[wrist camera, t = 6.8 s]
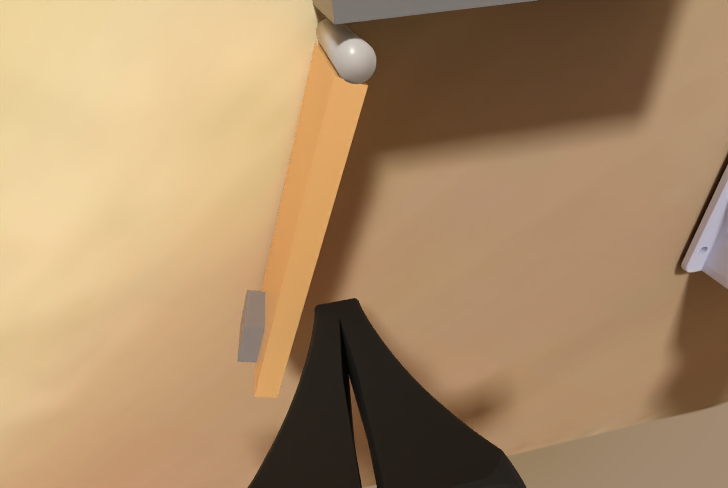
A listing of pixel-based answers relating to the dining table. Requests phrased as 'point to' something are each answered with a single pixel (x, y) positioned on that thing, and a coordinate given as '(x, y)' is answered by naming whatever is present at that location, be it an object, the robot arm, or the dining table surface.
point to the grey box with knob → (394, 8)
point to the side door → (306, 200)
